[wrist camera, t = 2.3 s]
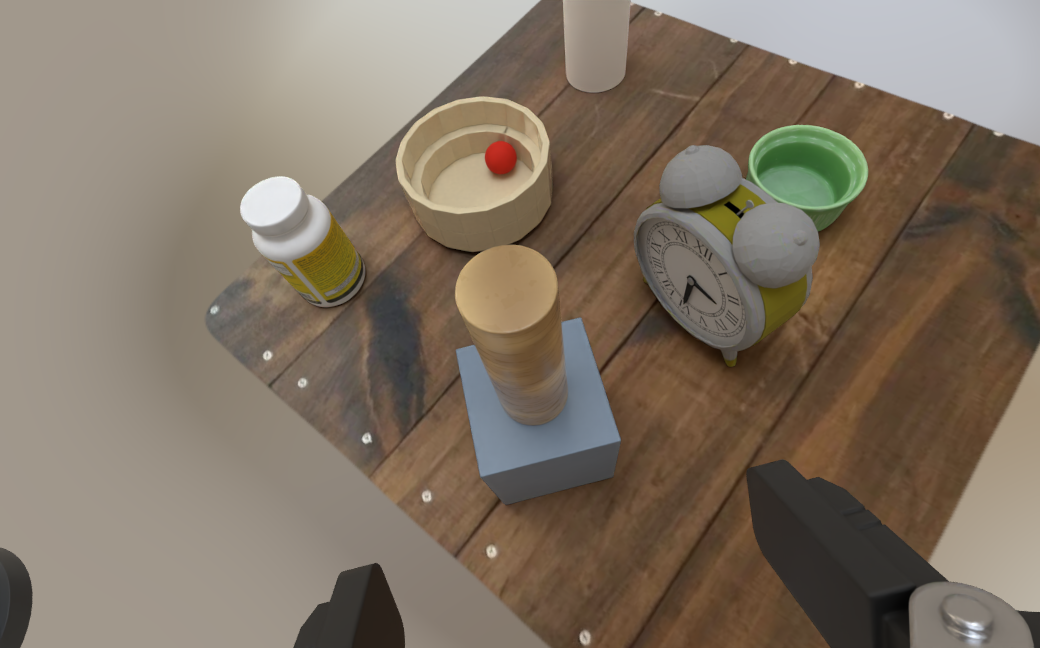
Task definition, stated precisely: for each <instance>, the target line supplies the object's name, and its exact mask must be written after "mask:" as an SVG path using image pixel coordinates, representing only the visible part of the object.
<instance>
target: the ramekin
mask: <svg viewBox="0 0 1040 648" xmlns="http://www.w3.org/2000/svg"><path fill="white" fill-rule="evenodd" d="M867 178H868V166H867V162H866V159H865V157H864V155H863V154H862V152H861V151H860V149H859V148H858V147H857V146H856V145H855V144H854V143H853V142H851V141H850V140H849V139H847V138H846V137H844V136H842V135H841V134H839V133H836V132H834V131H832V130H829V129H826V128H822V127H817V126H811V125H793V126H786V127H782V128H779V129H776V130H773V131H771V132H769V133H767V134H766V135H764V136H763V137H762V138H761V139H759V140H758V141H757V143H756V144H755V145H754V147H753V148H752V150H751V153H750V156H749V161H748V174H747V177H746V180H748V181H750V182H752V183H753V184H755V185H756V186H758V187H759V188H761V189H762V190H764V191H765V192H766V193H767V194H769V195H770V196H771V197H772V198H773V199H774V200H775V201H777V202H778V203H785V204H788V205H792V206H794V207H796V208H798V209H801V210H802V211H803V212H804V213H805V214H807V215H808V216H809V217H810V218H811V219H812V221H813V223H814V225H815V227H816V229H817V231H821V230H823V229H824V228H826V227H828V226H829V225H830V224H832V223H833V222H834V221H835V220H836V219H837V218H838V216H839V215H840V214H841V213H842V211H843V210H844V209H845V207H846V206H847V205H848V204H849V203H850V202H852V201H853V200H854V199H855V198H856V197H857V196H858V195H859V194H860V192H861V191H862V190H863V188H864V186H865V184H866V182H867Z"/></svg>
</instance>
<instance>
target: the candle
mask: <svg viewBox="0 0 1040 648" xmlns="http://www.w3.org/2000/svg"><path fill="white" fill-rule="evenodd" d="M630 2H631V1H630V0H563V12H564V37H565V61H566V77H567V80H568V82H569V83H570V84H571V85H572V86H573V87H574V88H576V89H578V90H581V91H584V92H590V93H597V92H603V91H607V90H610V89H612V88H614V87H615V86H617V85H618V84H619V83H620V82H621V81H622V80H623V78H624V76H625V71H626V57H627V44H628V30H629V16H630Z"/></svg>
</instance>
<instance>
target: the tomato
mask: <svg viewBox="0 0 1040 648" xmlns="http://www.w3.org/2000/svg"><path fill="white" fill-rule="evenodd" d="M516 160H517V155H516V151H515V149H514V148H513V146H512V145H510V144H509V143H507V142H505V141H497V142H494V143H492V144H491V145H490V146H489V147H488V148H487V150H486V153H485V162H486V165H487V167H488V168H489V169H490V170H491V171H492V172H494V173H496V174H506V173H508V172H510V171H511V170H512V169H513V168H514V166H515V164H516Z"/></svg>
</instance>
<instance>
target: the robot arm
mask: <svg viewBox="0 0 1040 648" xmlns="http://www.w3.org/2000/svg"><path fill="white" fill-rule="evenodd" d="M747 484H748V491H749V499H750V507H751V515H752V522H753V529H754V533H755V537H756V539H757V542H758V545H759V547H760V549H761V551H762V553H763V555H764V556H765V558H766V559H767V561H768V562H769V564H770V565H771V566H772V568H773V569H774V570H775V572H776V573H777V575H778V576H779V577H780V579H781V580H782V581H783V583H784V584H785V585H786V587H787V588H788V590H789V591H790V592H791V594H792V595H793V596H794V598H795V599H796V601H797V602H798V603H799V605H800V606H801V607H802V609H803V610H804V611H805V613H806V614H807V616H808V617H809V618H810V620H811V621H812V622H813V624H814V625H815V626H816V628H817V629H818V631H819V632H820V633H821V635H822V636H823V637H824V639H825V640H826V642H827V643H828V644H829V646H830V647H831V648H1040V612H1026V611H1017V610H1015V609H1014V608H1013V607H1012V606H1010V605H1009V604H1008V603H1006V602H1005V601H1004V600H1002V599H1001V598H999V597H997V596H995V595H993V594H992V593H989V592H987V591H985V590H983V589H980V588H977V587H974V586H971V585H967V584H963V583H957V582H949V581H948V580H946V578H945V577H943V576H942V575H941V574H940V573H939V572H938V571H937V570H935V569H934V568H933V567H932V566H931V565H930V564H929V563H928V562H926V561H925V560H924V559H923V558H922V557H921V556H920V555H919V554H917V553H916V552H915V551H914V550H913V549H912V548H911V547H910V546H908V545H907V544H906V543H905V542H904V541H903V540H902V539H901V538H899V537H898V536H897V535H896V534H895V533H894V532H893V531H892V530H890V529H889V528H888V527H887V526H886V525H882V524H881V521H880V520H879V519H878V518H877V517H876V516H875V515H873V514H872V513H871V512H870V511H869V510H866V509H865V508H864V506H863V505H862V504H861V503H860V502H859V501H858V500H857V499H855V498H854V497H853V496H852V495H851V494H850V493H849V492H848V491H846V490H845V489H844V488H841V487H839V486H837V485H835V484H833V483H831V482H828V481H826V480H824V479H822V478H820V477H816V478H812V479H809V480H806V479H805V478H804V477H803V476H802V475H801V474H800V473H799V472H798V471H797V470H796V469H795V468H794V467H793V466H792V465H791V464H790V463H789V462H787V461H786V460H779V461H775V462H771V463H767V464H763V465H759V466H755V467H751V468H749V469H748V470H747ZM294 648H405V636H404V628H403V623H402V619H401V616H400V613H399V611H398V608H397V606H396V603H395V601H394V598H393V596H392V593H391V591H390V588H389V585H388V583H387V580H386V578H385V575H384V573H383V570H382V568H381V567H380V565H379V564H377V563H374V564H370V565H366V566H363V567H358V568H355V569H351V570H347V571H343V572H341V573H340V575H339V576H338V579H337V582H336V585H335V588H334V591H333V594H332V597H331V600H330V602H326V603H322V604H319V605H318V606H317V607H316V609H315V610H314V611H313V613H312V614H311V615H310V616H309V618H308V619H307V621H306V622H305V623H304V624H303V626H302V627H301V629H300V632H299V634H298V637H297V640H296V642H295V645H294Z"/></svg>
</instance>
